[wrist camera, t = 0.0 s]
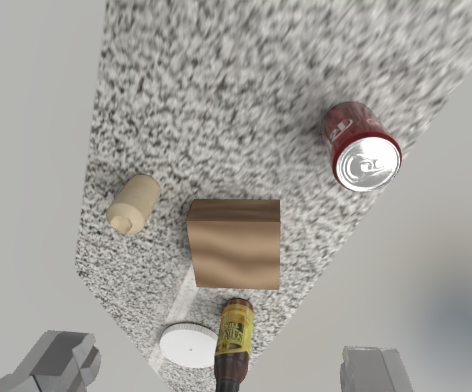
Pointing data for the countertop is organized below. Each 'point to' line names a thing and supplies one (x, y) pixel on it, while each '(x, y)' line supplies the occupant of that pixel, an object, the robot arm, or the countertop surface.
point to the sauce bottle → (233, 345)
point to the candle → (133, 204)
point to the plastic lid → (189, 345)
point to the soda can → (359, 148)
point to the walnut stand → (235, 243)
